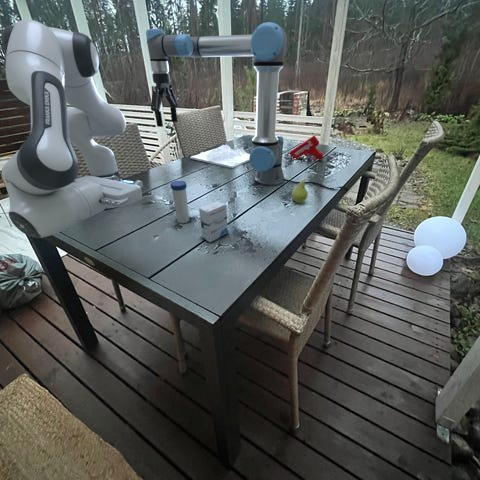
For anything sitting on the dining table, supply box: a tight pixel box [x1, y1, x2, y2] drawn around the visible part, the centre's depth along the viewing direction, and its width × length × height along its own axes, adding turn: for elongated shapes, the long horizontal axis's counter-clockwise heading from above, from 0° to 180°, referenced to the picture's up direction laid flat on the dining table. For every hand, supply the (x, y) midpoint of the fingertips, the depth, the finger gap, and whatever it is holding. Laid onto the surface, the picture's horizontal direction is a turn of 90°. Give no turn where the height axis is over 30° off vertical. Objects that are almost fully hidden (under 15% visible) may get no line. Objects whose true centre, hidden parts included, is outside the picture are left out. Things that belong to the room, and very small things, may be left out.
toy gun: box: [289, 135, 324, 163], centre depth 173 cm, size 18×4×15 cm
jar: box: [171, 187, 191, 224], centre depth 104 cm, size 5×5×15 cm
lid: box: [170, 180, 187, 191], centre depth 100 cm, size 6×6×2 cm
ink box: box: [198, 200, 228, 243], centre depth 95 cm, size 8×5×12 cm, turn 135°
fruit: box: [291, 174, 311, 204], centre depth 118 cm, size 7×8×12 cm
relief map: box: [190, 144, 250, 169], centre depth 178 cm, size 27×35×5 cm
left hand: (128, 180), depth 79 cm, fingers open, 8 cm apart
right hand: (167, 124), depth 132 cm, fingers open, 13 cm apart
